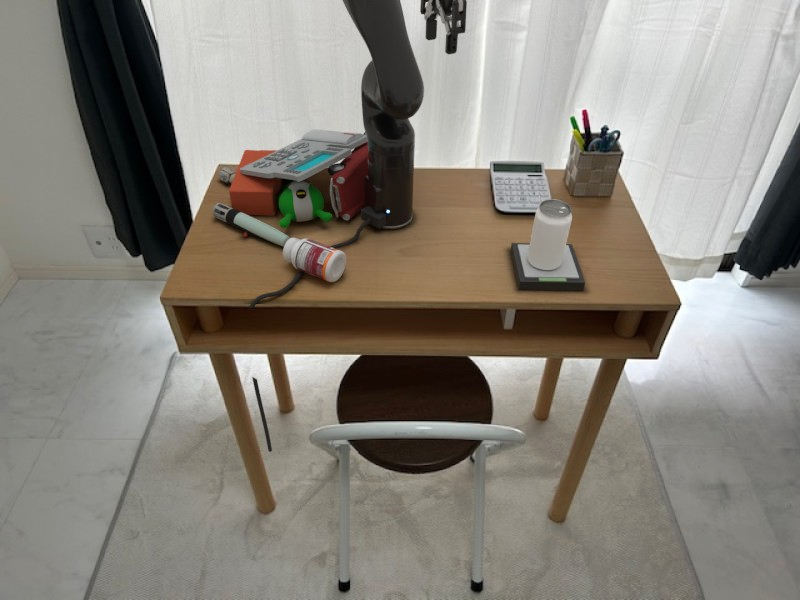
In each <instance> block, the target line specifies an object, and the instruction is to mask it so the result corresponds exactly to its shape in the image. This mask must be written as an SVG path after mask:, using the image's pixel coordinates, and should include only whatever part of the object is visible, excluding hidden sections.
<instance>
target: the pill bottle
mask: <svg viewBox="0 0 800 600" xmlns="http://www.w3.org/2000/svg"><path fill="white" fill-rule="evenodd" d="M330 246H331V245H326V244H324V243H321V242H318V241H316V240H314V239H311V238H301V239H300V238H297V237H290V239H289V240H288V241H287V242H286V244H285V246H284V247H283V248H282V257H283V259H284V260H285V261H287V262H289V263H291V264H292V266H293V267H294V268H295V269H296V270H298V271H300V270H301V271H303V272H304V273H306V274H308V275H310V276H313V277H316V278H318V279H321V280H324V281H326V282H329V283H334V282H337V281H338V280H339V279H341V277H342V275H343V273H344V272H345V268H346V265H347V255H346V253H345V252H344V251H342V250H341V249H339V248H336V249H335V248H332V247H330Z"/></svg>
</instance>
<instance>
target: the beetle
mask: <svg viewBox="0 0 800 600" xmlns="http://www.w3.org/2000/svg"><path fill="white" fill-rule="evenodd" d="M236 171H237V170H236ZM236 171H235V170H234V169H233V168H231V167H222V168H221V169H219V171H218V178H219V180H221V182H224V183H225V184H226V185H227V184H229V187H231V184H232V182H233V179H234V177H235V174H236Z"/></svg>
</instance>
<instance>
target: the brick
mask: <svg viewBox="0 0 800 600" xmlns="http://www.w3.org/2000/svg"><path fill="white" fill-rule="evenodd" d="M277 150H278V149H277ZM277 150H276V149H273V150H272V149H271V150H268V149H261V150H260V149H259V150H257V149H245V150H244V151H243V154H242V156H241V158H240V162H239V164H238V166H237V169H236V174H235V177H234V179H233V182H232V184H231V183H230V184H231V186H229V189H228V193H229V199H230V204H231V208H233V209H236V210H238V211H240V212H242V213H244V214H246V215H249V216H266V217H267V216H269V217H270V216H272V217H273V216H276V213H277V210H278V208H279V202H278V201H277V196H278V195H279V194H281V192H280V191H281V187H282V186H283V178H277V177H274V178H263V177H257V176H251V175H245V174H242V173H241V171H240V168H242V167H244V166H246V165H248V164H250V163H252V162H255V161H257V160H259V159H261V158H263V157H265V156H267V155H269V154H271V153H273V152H275V151H277Z"/></svg>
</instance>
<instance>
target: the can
mask: <svg viewBox="0 0 800 600" xmlns="http://www.w3.org/2000/svg"><path fill="white" fill-rule="evenodd" d="M534 214H535V215H534V220H533V225H532V230H531V235H530V239H529V243H530V245H529V250H528V256H527V259H528V261H529V263H530V264H531V265H532V266H533V267H535V268H537V269H539V270H544V271H550V270H554V269H556V268H558V267H559V266H560V265H561V263H562V259H563V255H564V251H565V247H566V244H567V242H568V238H569V233H570V230H571V224H572V220H573V214H572V206H571V205H570V204H569V203H567V202H565V201H564V200H560V199H554V198H550V199H549V198H548V199H544V200H543V201H541V202H540V203H539V207H538V208H537V209H536V211H535V213H534Z"/></svg>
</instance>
